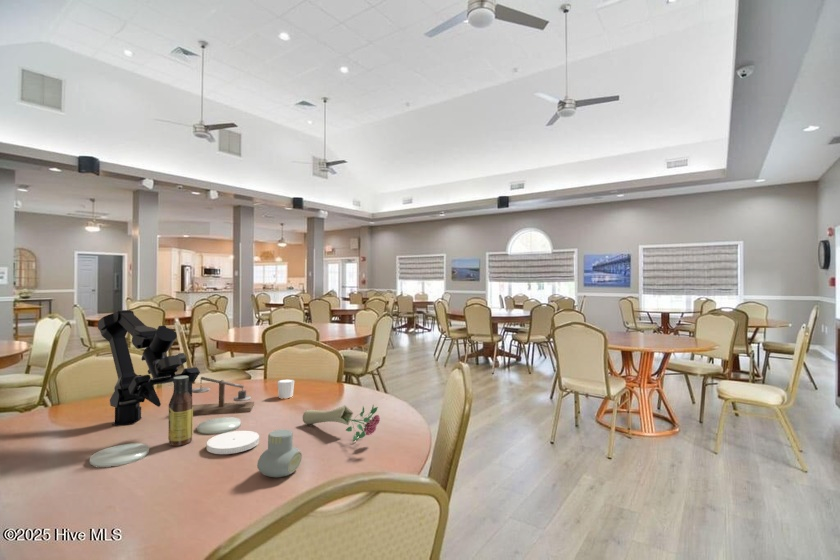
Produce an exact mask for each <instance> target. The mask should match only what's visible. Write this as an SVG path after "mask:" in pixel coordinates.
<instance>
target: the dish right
mask: <svg viewBox="0 0 840 560" xmlns="http://www.w3.org/2000/svg"><path fill="white" fill-rule="evenodd" d="M241 424H242V421H241V419H240V418H238V417H231V416H225V417H223V416H222V417H215V418H210V419H207V420H204V421H201V422H200V423H198V424H197V427H196V428H197V429H196V430H197V433H199V434H201V435H202V434H203V435H220V434H222V433H227V432H233V431H236V430H237V429H239V428H240V427H241Z"/></svg>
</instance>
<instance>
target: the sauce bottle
mask: <svg viewBox="0 0 840 560" xmlns="http://www.w3.org/2000/svg"><path fill="white" fill-rule="evenodd" d="M188 381H189V376H177V377H174V378H173V382H172V383H173V393H172V395H171V398H170V401H169V403H168V438H167V439H168V444H169V445H170V446H173V447H175V446H177V447H179V446H184V445H187V444H189V443H191V442H192V441H193V440H192V439H193V435H194V434H193V432H194V429H193V427H194V425H193V424H194V423H193V421H194V415H193V406H192V405H193V396H192V397H191V395H190V394H189V392H188Z"/></svg>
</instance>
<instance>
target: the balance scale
mask: <svg viewBox="0 0 840 560" xmlns="http://www.w3.org/2000/svg"><path fill="white" fill-rule="evenodd" d="M202 381H206V382H212V383H217V384H219V385H218V403H205V404H203V403H201V404H192V406H193V416H195V415H197V416H199V415H216V414H230V413H231V414H232V413H233V414H234V413H235V412H236V413H250V412H249V411H252V410H253V408H254V407H255V401H251V397H252V396H250V395H247V390H246V389H245V390H244V387H245V386H244V385H243V384H239V383H234V382H229V381H225V380H224V379H221V380H219V379H214V378H210V377H209V378H208V377H203V376H200V383H202ZM225 385H226V386H230V387H235V388H239V389H240V388H241V390H239V391H238V393H237V395H238V396H235V397H233V401H234V402H225V393H226V391H225V388H226V387H225ZM210 391H211V388H210V387H207V386H206V387H202V386H199V387H196V388H192V394H202V393H206V392H210ZM253 406H254V407H253Z"/></svg>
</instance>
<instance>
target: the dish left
mask: <svg viewBox="0 0 840 560" xmlns="http://www.w3.org/2000/svg"><path fill="white" fill-rule="evenodd" d="M149 452H150V446H149V445H148V444H145V443H140V442H139V443H137V442H136V443H124V444H118V445H115V446H114V445H113V446H111V447H106V448H104V449H101V450H99V451H96V452H95V453H93V454H92V455H91V456H90V457H89V465H90V464H91V465H93V466H97V467H96V468H99V467H106V468H112V467H111V466H115V467H118V466H117V465H121V466H124V465H123V464H125V465H128V463H129V464H131V463H135V462H137V461H139V460H142V459H143V458H145V457H147V456H148V454H149ZM91 465H90V466H91ZM93 466H92V467H93Z"/></svg>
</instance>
